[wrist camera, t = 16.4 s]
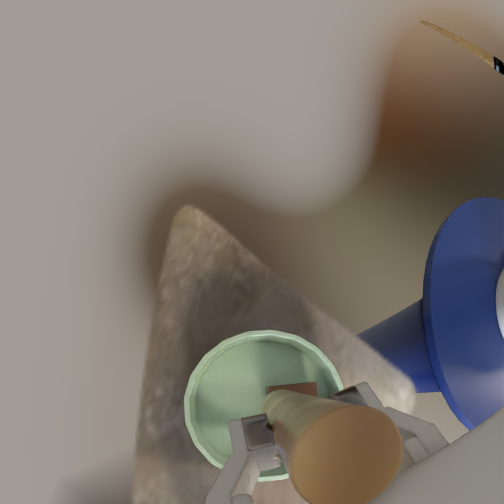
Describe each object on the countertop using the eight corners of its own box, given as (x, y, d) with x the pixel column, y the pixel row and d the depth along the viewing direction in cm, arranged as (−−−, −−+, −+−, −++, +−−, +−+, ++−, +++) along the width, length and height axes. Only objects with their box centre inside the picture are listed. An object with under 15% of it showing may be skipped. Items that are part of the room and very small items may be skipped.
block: (307, 382, 28) (316, 381, 24) (310, 422, 26) (320, 427, 22) (265, 386, 27) (268, 386, 24) (268, 426, 26) (271, 432, 22)
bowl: (324, 332, 30) (336, 323, 26) (334, 458, 25) (348, 468, 21) (190, 341, 30) (181, 333, 25) (197, 469, 24) (190, 482, 20)
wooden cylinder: (299, 386, 19) (400, 393, 6) (303, 424, 18) (405, 492, 5) (258, 391, 18) (284, 416, 6) (262, 429, 17) (294, 521, 5)
